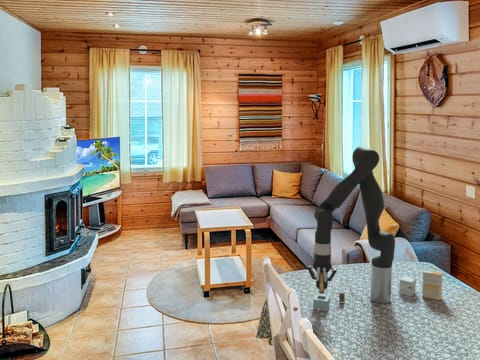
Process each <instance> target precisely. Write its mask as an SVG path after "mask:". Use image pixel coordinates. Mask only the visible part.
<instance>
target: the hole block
mask: <svg viewBox="0 0 480 360" xmlns="http://www.w3.org/2000/svg"><path fill="white" fill-rule="evenodd" d="M330 298H331V296H330V295H326V294H320V293H316V294H314V297H313V299H312V310H313V309H319V310H325V311H329V309H330V307H329V305H331V304H330V303H331V301H330V300H331V299H330ZM328 308H329V309H328Z"/></svg>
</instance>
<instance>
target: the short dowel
mask: <svg viewBox="0 0 480 360" xmlns="http://www.w3.org/2000/svg"><path fill="white" fill-rule="evenodd" d="M345 294H346V293H345V292H342V291H341V292H339V294H338V295H339V296H338V297H339V299H338V300H339V301H338V303H339V302H344V303H345Z"/></svg>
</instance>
